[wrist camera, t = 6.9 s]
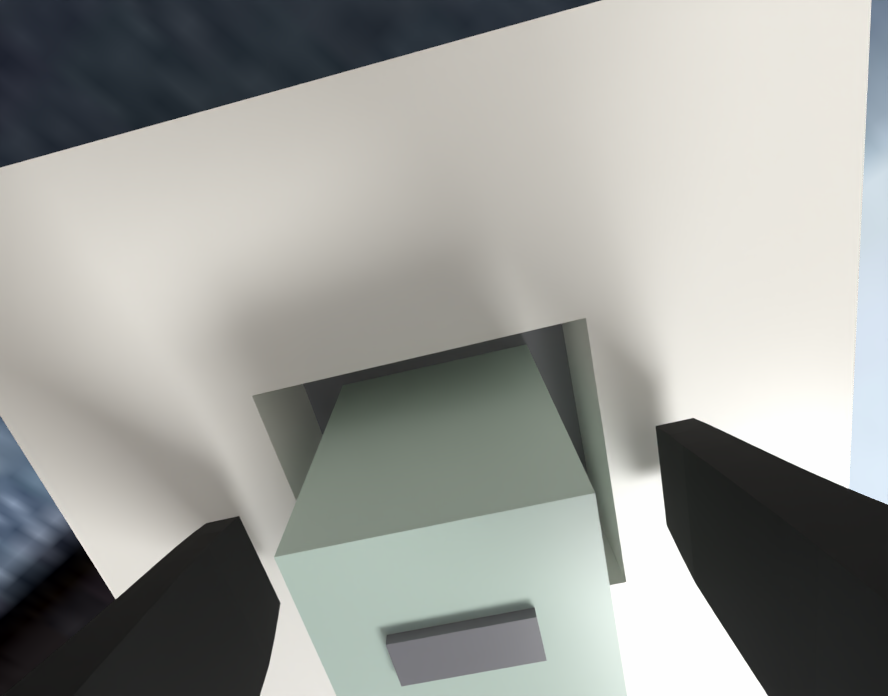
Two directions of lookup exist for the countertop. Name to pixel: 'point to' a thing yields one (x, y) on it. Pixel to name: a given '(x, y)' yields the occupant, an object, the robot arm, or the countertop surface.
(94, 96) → the countertop surface
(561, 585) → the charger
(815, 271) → the outlet plate
